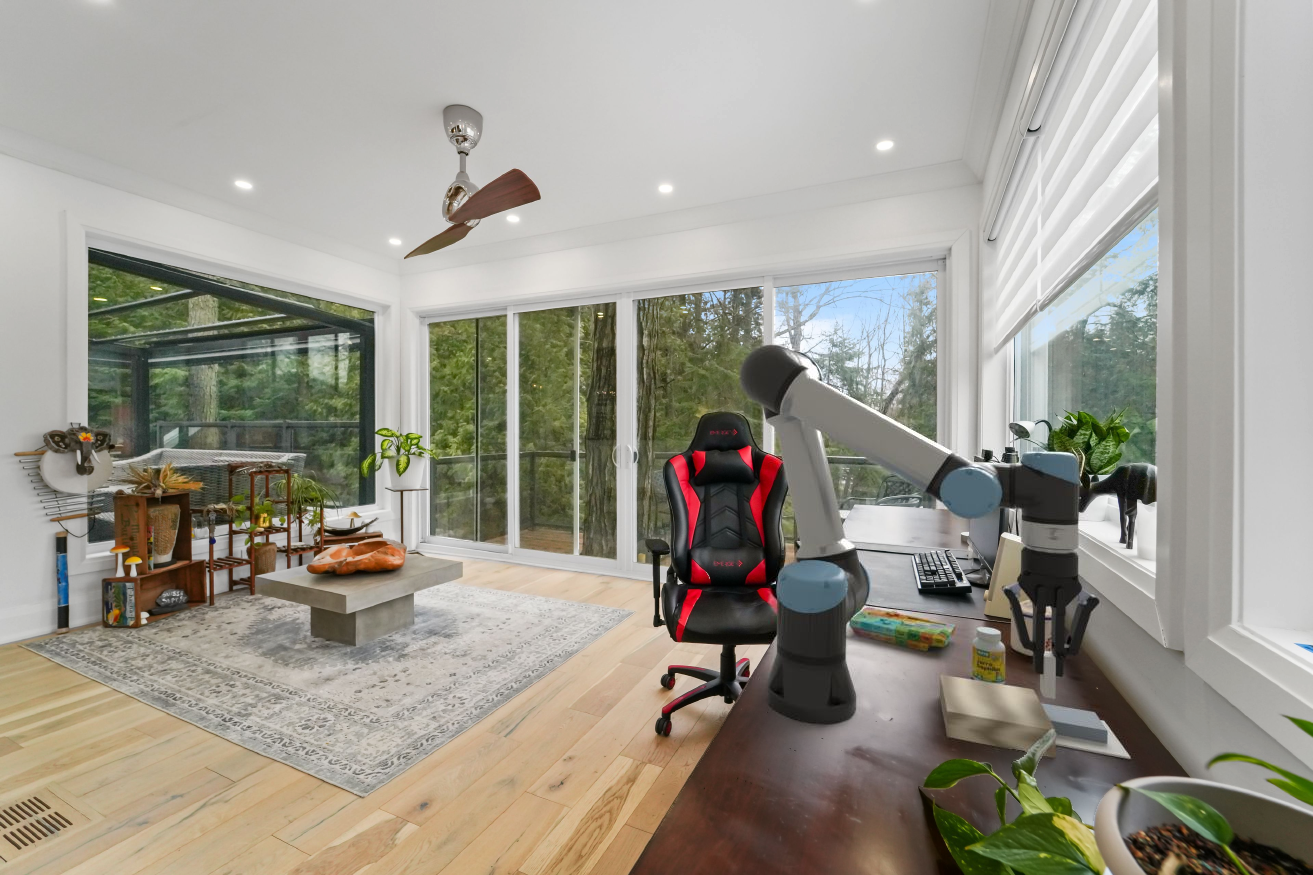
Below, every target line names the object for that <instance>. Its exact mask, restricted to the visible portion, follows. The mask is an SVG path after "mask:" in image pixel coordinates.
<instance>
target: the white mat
mask: <svg viewBox="0 0 1313 875" xmlns="http://www.w3.org/2000/svg"><path fill="white" fill-rule="evenodd" d="M1100 721H1101V722H1102V723H1103V725H1104V726H1105V728H1106V729H1107V730H1108V742H1107V744H1106V743H1100V742H1095V741H1090V740H1084V739H1079V738H1073V737H1068V736H1062V735H1057V736H1056V746H1059V747H1064V748H1069V749H1073V750H1079V751H1084V752H1090V753H1094V754H1095V753H1096V754H1100V755H1106V756H1110V757H1116V758H1122V759H1125V760H1131V759H1132V758H1131V756H1130V754H1129V753H1128V751H1127V750H1126V749H1125V748H1124V746H1123V744H1122V743H1121V742H1120V741H1119V739H1118V738H1117V736H1116V735H1115V734H1114V732H1113V731H1112V730H1111V728H1110V727H1109V725H1108V724H1107V723H1106V722H1105V720H1100Z"/></svg>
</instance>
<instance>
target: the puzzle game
mask: <svg viewBox="0 0 1313 875" xmlns="http://www.w3.org/2000/svg"><path fill="white" fill-rule="evenodd" d="M848 625H849V627H850V629H851V630H852V631H853V633H854V634H855V635H856V636H859V637H863V638H869V639H872V640H876V641H880V642H885V643H889V644H894V645H899V646H902V647H907V648H910V649H915V650H920V651H924V652H927V651H928V650H929V649H930V647H932V646H933V647H939V648H944V647H946V646H947V645H948V643H949V642H950V640H951V638H952V637H953V635H954V634H955V632H956V631H957V626H956V625H955V624H952V623H951V624H950V623H947V622H942V621H937V620H932V619H928V618H922V617H917V616H913V615H908V614H903V613H898V612H897V611H894V610H892V611H889V610H884V609H879V608H873V607H870V606H869V607H865V608H864V609H863V608H862V609H861V611H859V612H858V613H857V614H856V615H855V616H854V617H853V618H852V619H851V620H850V621H849V624H848Z"/></svg>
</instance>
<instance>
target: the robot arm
mask: <svg viewBox="0 0 1313 875" xmlns="http://www.w3.org/2000/svg"><path fill="white" fill-rule="evenodd" d="M739 380H740V381H739V382H740V386H741V388H742V391H743V392H744V394H745V395H746V396H747V397H748V398H749V399H750V401H752V402H754V403H756V404H758V405H760V406H762V408H763V413H764V417H765V421H766V423H767V424H769V425H770V426H772V427H773V429H775V433H776V436H777V441H778V446H779V451H780V454H781V458H782V459H781V460H782V464H783V465H782V466H783V469H784V474H785V478H786V481H787V487H788V492H789V496H790V501H791V504H792V510H793V514H794V518H795V519H794V520H795V523H796V529H797V532H798V533H797V534H798V538H799V541H800V546H799V548H798V550H797V552H796V553H795V554H794V555H795V560H796V561H794V562H790V563H788V564H786V565H785V566H783V567H782V568H781V569H780V570H779V572H778V576H777V584H776V589H775V591H776V599H777V600H776V654H775V657H774V661H773V663H772V666H771V669H770V672H769V675H768V678H767V681H766V687H765V688H766V689H765V690H766V694H765V696H766V697H765V698H766V701H767V702H768V705H770V706H771V707H772V708H773V709H774V710H776V711H777V712H779V713H780V714H782V715H784V716H786V717H789V718H792V719H795V720H798V721H803V722H807V723H815V724H830V723H831V724H832V723H839V722H842V721H845V720H848V719H849V718H851V717H852V716H854V714H855V713H856V711H857V693H856V688H855V686H854V682H853V679H852V677H851V673H850V671H849V670H850V669H849V666H848V664H847V625H848V623H850V620H851V619H852V618H854V617H855V616H856V615H857V614H859V613H860V612H861V611H862V610H863V608H864V607H865V605H866V604H867V602H868V600H869V595H870V593H871V580H870V579H871V578H870V574H869V573H868V571H867V568H866V567H865V566H864V564H863V563H862V562H861V561H860V559H859V554H858V551H857V547H856V544H855V543H853V542H851V541H850V540H848V539H847V538H846V535H845V531H844V527H843V522H842V518H841V513H840V510H839V509H840V508H839V504H838V500H837V494H836V492H835V491H836V490H835V487H834V483H833V482H834V481H833V477H832V473H831V470H830V465H829V461H828V456H827V452H826V448H825V442H824V438H823V435H822V434H824V435H825V436H827V437H828V438H831V439H832V440H834V441H836V442H838V443H839V444H841V445H843V446H845V447H846V448H848V449H850V450H851V451H853V452H855V453H856V454H858V455H860V456H862V457H864V458H865V459H867V460H869V461H870V462H873V463H874V464H876V465H878V467H879V466H880V467H881V468H883V469H885V470H886V471H888V472H890V473H892V475H895V476H896V477H898V478H900V479H902V480H903V481H906V482H907V483H909V484H910V485H912V486H914V487H916V488H917V489H919V490H921V491H922V492H924V493H926V494H927V495H928V496H930V497H932V498H933V499H935V500H937V501H939V502H941V503H942V504H943V505H944V507H946V508H947V510H948V511H949V512H950V513H952V514H953V515H955V516H957V517H960V518H963V519H968V520H974V519H975V520H976V519H980V518H984V517H986V516H988V515H990V514H992V512H994V511H996V510H997V509H1011V510H1013V509H1014V510H1015V509H1017V510H1021V530H1020V531H1021V532H1020V533H1021V534H1020V535H1021V536H1020V542H1021V543H1022V544H1023V545H1024V546H1022V547H1021V548H1020V573H1019V575H1018V577H1016V578H1017V579H1016V581H1015V582H1014V583H1012V584H1009V585H1006V584H1004V585H1002V586H1001V591H1002V593H1003V594H1004V595H1005V596H1006V598H1007V600H1008V601H1009V606H1010V607H1011V610H1012V614H1013V618H1014V621H1015V625H1016V629H1017V633H1018V636H1019V640H1020V642H1021V644H1022V646H1023V647H1024V648H1025V649H1029V650H1031V651H1033V656H1032V668H1033V670H1034V672H1035V673H1036V675H1037V674H1039V680H1040V681H1039V690H1040V693H1041V694H1042V696H1043V698H1046V699H1054V700H1056V688H1057V686H1056V682H1057V681H1056V680H1057V679H1056V678H1057V677H1059V678H1063V676H1064V660H1065V659H1066V657H1067V656H1077V655H1078V654H1079V652H1080V648H1081V646H1082V642H1083V640H1084V636H1085V633H1086V630H1087V627H1088V624H1089V620H1090V618H1091V613H1093V611H1094V609H1095V608H1096V607H1097V606H1098V605H1099V604H1100V599H1099V598H1098V597H1097V596H1095V595H1094V594H1093V593H1090V592H1087V591H1086V590H1085V589H1083V585H1082V584H1081V582H1080V580H1079V553H1077V551H1075V550H1077V549H1078V548H1079V521H1080V520H1079V518H1080V517H1079V515H1080V514H1079V513H1080V484H1081V483H1080V482H1081V481H1080V467H1079V466H1080V465H1079V458H1078V457H1077V456H1076V455H1075V454H1073V453H1072V452H1064V451H1063V452H1062V451H1025V452H1024V453H1023V454H1022V456H1021V460H1020V462H1015V463H1014V462H1013V463H1012V462H1010V463H1002V462H1000V463H999V462H983V461H982V462H978V461H971V460H969V459H968V458H965V457H963V456H961V455H960V454H957V453H956V452H953V451H952V450H950V449H948V448H946V447H944V446H942V445H941V444H939V443H937V442H935V441H933V440H931V439H930V438H927V437H925V436H923V435H922V434H920V433H918V432H916V431H914V429H913V430H912V429H910V428H909V427H906V426H905V425H903V424H902V423H900V422H897V421H896V420H893V419H892V418H891V417H888V416H886V415H885V414H882V413H880V411H878V410H875V409H873V408H872V407H869V406H868V405H865V404H864V403H862V402H861V401H858V400H856V399H854V398H853V397H850V396H849V395H847V394H845V393H843V392H841V391H839V390H838V389H836V388H834V387H832V386H830V385H829V384H827V383H824V376H823V373H822V371H821V368H820V366H819V365H818V364H817V363H816V361H814V359H812V358H811V357H810V356H809V355H807V354H805V353H803V352H801V351H799V350H792V349H789V348H786V347H784V346H781V345H777V344H765V345H762V346H759V347H757V348H755V349H753V350H752V351H750V353H748V355H747V356H746V357H745V358H744V360H743V361H742V363H741V366H740V370H739ZM1021 590H1022V591H1023V592H1024V593H1025V595H1026V596H1027V597H1028V600H1031V601H1032V607H1033V634H1032V641H1031V640H1030V638H1029V635H1028V631H1027V627H1026V623H1025V620H1024V616H1023V612H1022V609H1021V605H1020V601H1019V598H1020V597H1021V595H1022V594H1021ZM1075 598H1077V600H1076V601H1077V606H1076V608H1075V611H1074V614H1073V618H1072V621H1071V623H1070V626H1069V631H1068V633H1067V636H1065V635H1066V634H1065V627H1066V624H1065V622H1066V619H1065V618H1066V614H1067V613H1066V610H1067V609H1066V607H1067V606H1068V605H1069V604H1070V603H1072V602H1073V600H1074V599H1075ZM1048 606H1049V607H1051V610H1052V619H1051V649H1052V652H1049V651H1045V613H1046V607H1048ZM1011 610H1010V611H1011ZM1065 637H1066V640H1065Z"/></svg>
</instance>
